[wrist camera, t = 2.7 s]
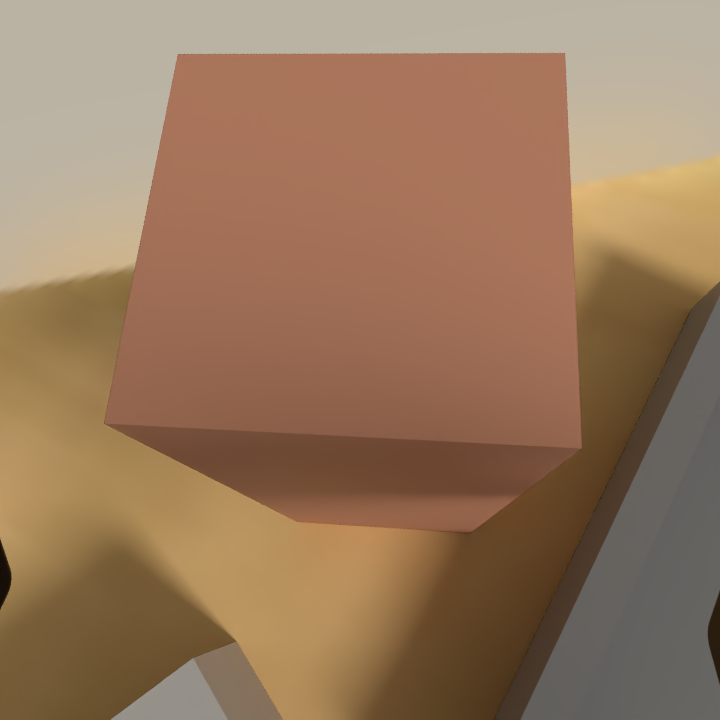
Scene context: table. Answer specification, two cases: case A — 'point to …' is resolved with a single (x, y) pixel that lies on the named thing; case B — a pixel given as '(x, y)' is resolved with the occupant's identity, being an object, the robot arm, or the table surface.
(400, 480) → the column
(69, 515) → the table surface
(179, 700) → the grey brick
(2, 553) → the robot arm
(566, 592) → the tray
